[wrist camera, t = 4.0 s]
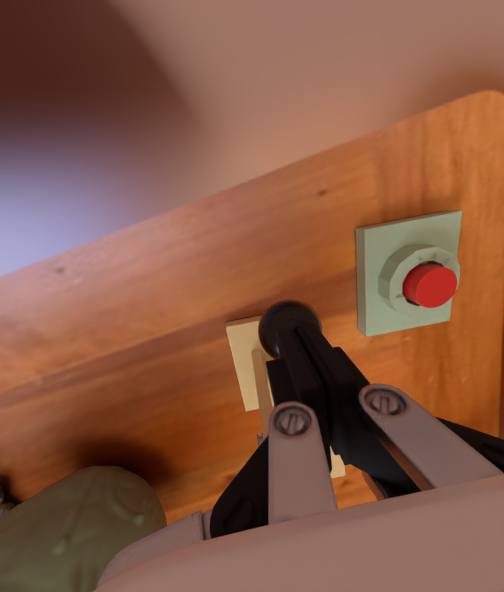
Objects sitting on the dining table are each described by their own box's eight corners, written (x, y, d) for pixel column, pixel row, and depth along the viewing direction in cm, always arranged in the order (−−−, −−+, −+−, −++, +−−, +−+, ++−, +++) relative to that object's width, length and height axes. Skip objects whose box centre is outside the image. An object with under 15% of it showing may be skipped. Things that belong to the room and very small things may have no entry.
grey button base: (355, 228, 23) (376, 230, 19) (446, 210, 23) (482, 210, 20) (357, 329, 26) (376, 346, 23) (436, 314, 27) (465, 328, 23)
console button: (403, 267, 21) (417, 271, 19) (442, 259, 21) (460, 263, 20) (401, 304, 22) (415, 311, 21) (438, 297, 22) (455, 304, 21)
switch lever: (250, 294, 13) (258, 333, 10) (309, 283, 13) (333, 318, 10) (275, 429, 19) (284, 475, 17) (314, 422, 19) (329, 466, 17)
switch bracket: (225, 321, 25) (220, 410, 14) (310, 305, 25) (373, 379, 14) (245, 404, 28) (253, 526, 17) (318, 389, 29) (374, 500, 18)
